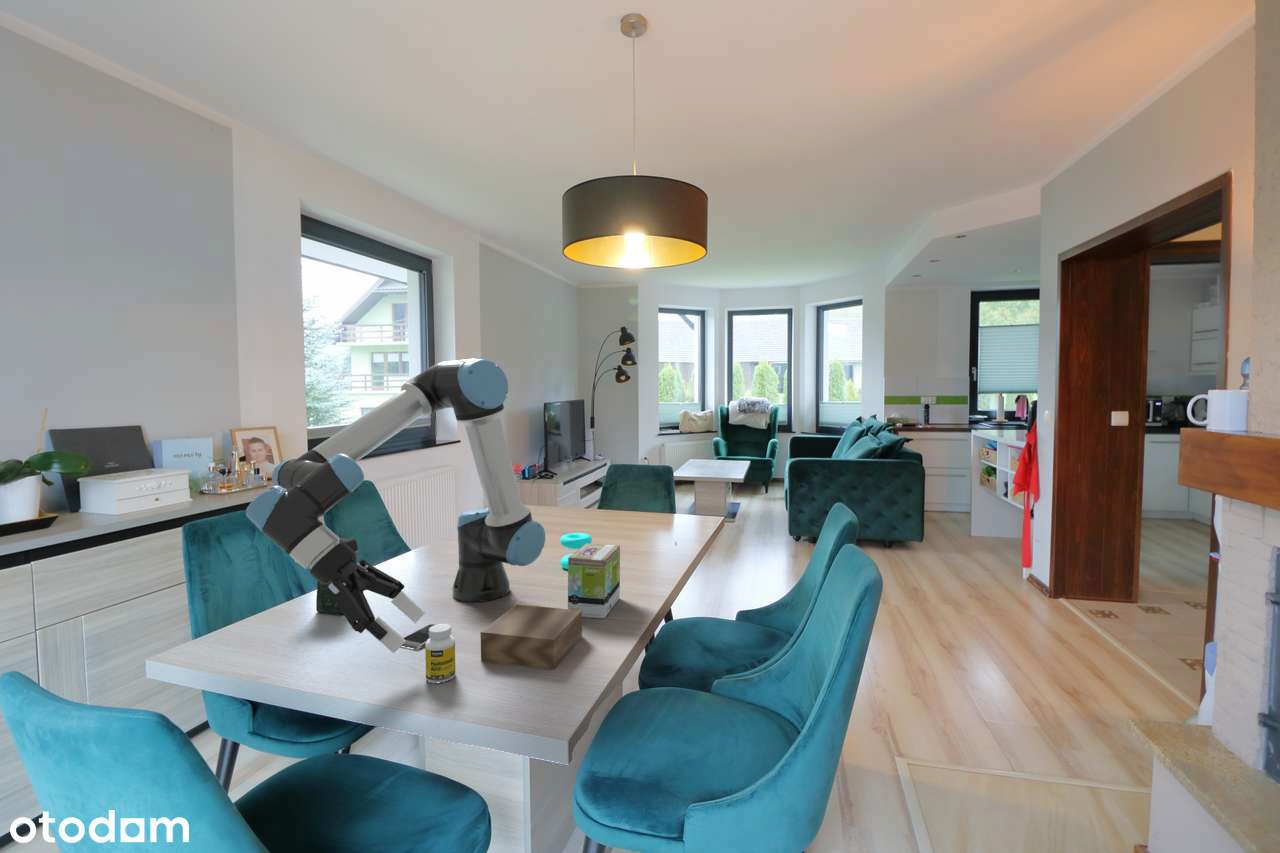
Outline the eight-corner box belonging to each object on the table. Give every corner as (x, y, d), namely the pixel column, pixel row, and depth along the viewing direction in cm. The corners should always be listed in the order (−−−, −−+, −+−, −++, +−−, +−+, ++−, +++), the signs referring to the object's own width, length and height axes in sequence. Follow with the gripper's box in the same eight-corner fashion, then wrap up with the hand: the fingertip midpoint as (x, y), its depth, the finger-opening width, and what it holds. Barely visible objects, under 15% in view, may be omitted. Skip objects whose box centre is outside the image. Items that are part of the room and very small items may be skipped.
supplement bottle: (427, 687, 106) (426, 635, 106) (424, 674, 111) (422, 625, 110) (457, 680, 109) (456, 629, 108) (453, 668, 113) (452, 620, 113)
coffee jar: (365, 605, 148) (363, 535, 147) (344, 617, 140) (342, 542, 139) (332, 603, 150) (330, 533, 149) (310, 614, 142) (307, 541, 141)
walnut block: (481, 660, 116) (480, 632, 116) (516, 629, 132) (516, 604, 132) (554, 669, 113) (553, 639, 112) (581, 636, 128) (581, 610, 128)
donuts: (596, 533, 184) (584, 540, 175) (596, 563, 185) (585, 572, 175) (568, 531, 187) (555, 538, 178) (568, 561, 188) (555, 570, 178)
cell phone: (452, 632, 132) (452, 627, 132) (417, 653, 121) (416, 646, 121) (431, 628, 134) (431, 623, 134) (395, 648, 124) (394, 642, 124)
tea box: (606, 619, 138) (605, 559, 137) (566, 616, 140) (565, 557, 139) (620, 598, 153) (620, 543, 152) (584, 595, 155) (584, 542, 154)
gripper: (338, 552, 118) (415, 620, 120) (274, 593, 93) (373, 678, 95) (364, 526, 118) (440, 594, 120) (308, 559, 93) (405, 645, 96)
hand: (411, 631), depth 108 cm, fingers open, 13 cm apart
